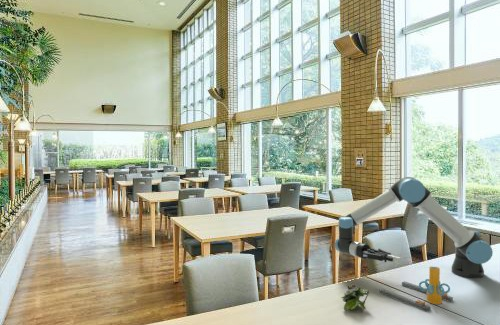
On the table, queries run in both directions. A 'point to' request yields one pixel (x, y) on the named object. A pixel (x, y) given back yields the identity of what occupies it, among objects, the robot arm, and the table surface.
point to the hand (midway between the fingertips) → (399, 260)
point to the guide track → (415, 303)
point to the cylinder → (434, 286)
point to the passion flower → (354, 297)
